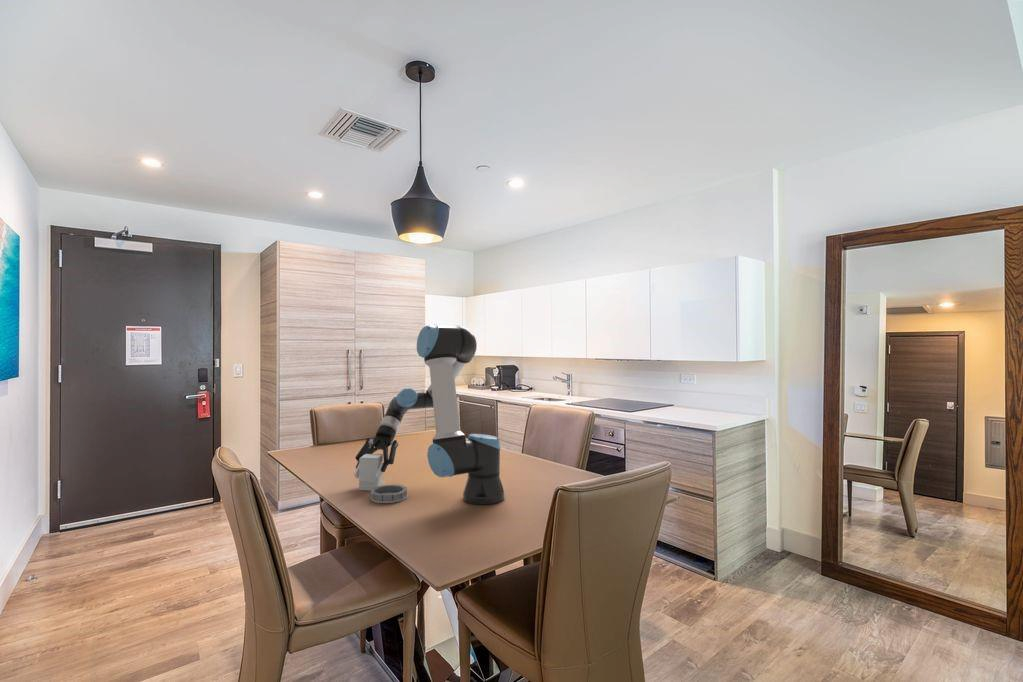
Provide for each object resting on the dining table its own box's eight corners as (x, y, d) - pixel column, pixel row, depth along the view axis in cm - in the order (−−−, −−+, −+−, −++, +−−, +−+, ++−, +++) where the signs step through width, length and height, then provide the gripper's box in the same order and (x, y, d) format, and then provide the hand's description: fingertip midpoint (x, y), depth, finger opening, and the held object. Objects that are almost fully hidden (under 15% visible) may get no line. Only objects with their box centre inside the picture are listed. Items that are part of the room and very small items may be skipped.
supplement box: (377, 490, 184) (377, 457, 184) (358, 490, 184) (358, 457, 184) (383, 485, 192) (383, 453, 192) (364, 484, 192) (364, 453, 192)
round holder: (413, 498, 175) (413, 490, 175) (379, 506, 166) (379, 497, 167) (397, 490, 185) (397, 482, 185) (364, 497, 176) (364, 488, 177)
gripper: (414, 436, 200) (394, 485, 185) (368, 433, 206) (346, 480, 190) (408, 425, 195) (387, 474, 179) (361, 422, 201) (338, 470, 185)
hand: (366, 477), depth 185 cm, fingers closed on supplement box, 9 cm apart
